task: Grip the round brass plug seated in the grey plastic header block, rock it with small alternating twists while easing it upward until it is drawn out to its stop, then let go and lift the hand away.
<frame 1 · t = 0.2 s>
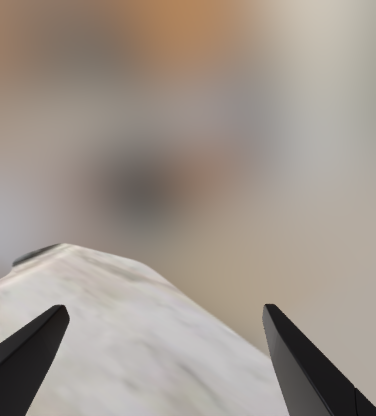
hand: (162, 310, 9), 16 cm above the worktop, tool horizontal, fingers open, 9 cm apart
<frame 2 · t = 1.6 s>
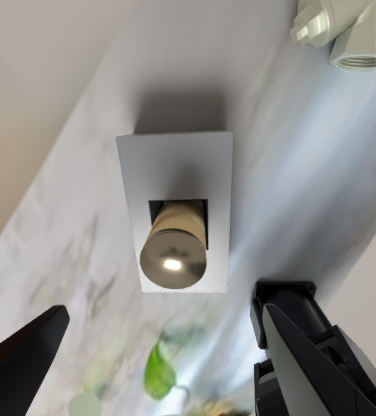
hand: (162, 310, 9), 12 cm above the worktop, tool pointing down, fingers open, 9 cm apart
brass plug: (179, 229, 16), point 4 cm above the worktop, slide at 0.0 cm
header block: (183, 207, 20), on the worktop
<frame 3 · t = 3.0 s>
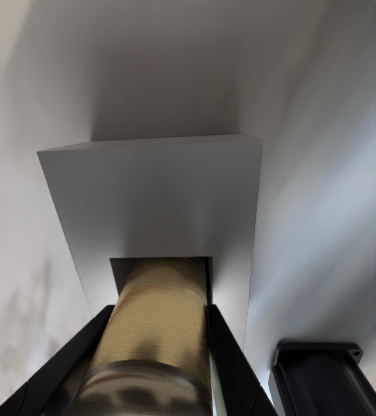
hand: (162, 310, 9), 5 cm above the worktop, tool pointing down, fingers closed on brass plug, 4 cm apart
brass plug: (163, 303, 9), point 4 cm above the worktop, slide at 0.0 cm, touching gripper
header block: (173, 248, 13), on the worktop
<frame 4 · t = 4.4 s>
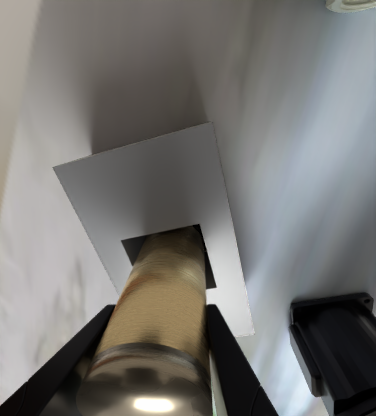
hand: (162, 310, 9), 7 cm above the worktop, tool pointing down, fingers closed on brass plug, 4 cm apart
brass plug: (165, 296, 10), point 6 cm above the worktop, slide at 1.9 cm, touching gripper
header block: (177, 231, 16), on the worktop
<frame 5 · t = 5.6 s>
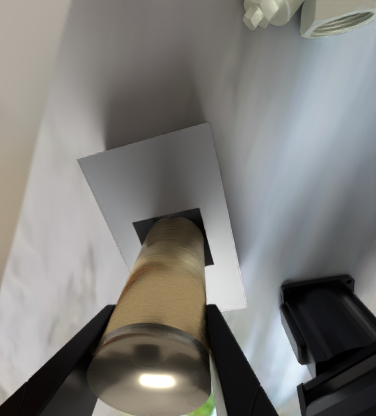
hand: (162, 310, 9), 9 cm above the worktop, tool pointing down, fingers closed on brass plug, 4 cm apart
brass plug: (167, 286, 10), point 8 cm above the worktop, slide at 3.5 cm, touching gripper
header block: (179, 218, 18), on the worktop
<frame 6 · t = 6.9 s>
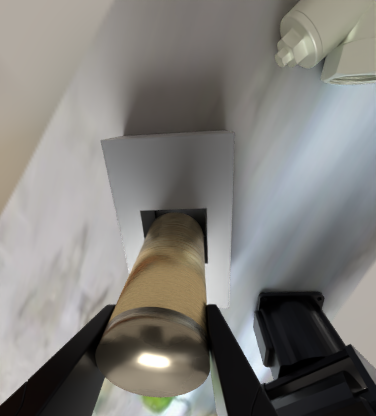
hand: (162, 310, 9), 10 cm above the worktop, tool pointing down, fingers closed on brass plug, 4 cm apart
brass plug: (168, 278, 11), point 8 cm above the worktop, slide at 3.6 cm, touching gripper
header block: (179, 215, 18), on the worktop
pipe fitting: (328, 11, 13), on the worktop
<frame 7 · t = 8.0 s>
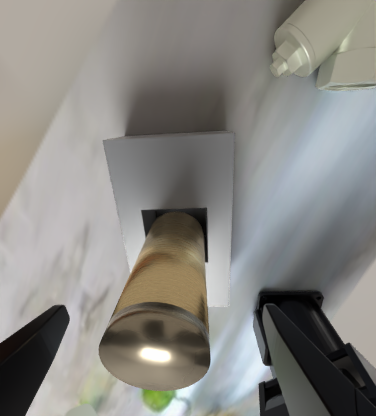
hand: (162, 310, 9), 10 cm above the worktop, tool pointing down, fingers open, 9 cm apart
brass plug: (169, 275, 11), point 8 cm above the worktop, slide at 3.6 cm
header block: (180, 214, 19), on the worktop
pipe fitting: (321, 20, 13), on the worktop
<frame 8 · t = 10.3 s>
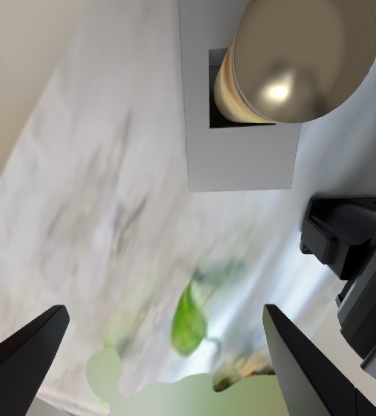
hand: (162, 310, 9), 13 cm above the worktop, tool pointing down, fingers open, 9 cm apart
brass plug: (262, 77, 10), point 8 cm above the worktop, slide at 3.6 cm
header block: (233, 96, 17), on the worktop
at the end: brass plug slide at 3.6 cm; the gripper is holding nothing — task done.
